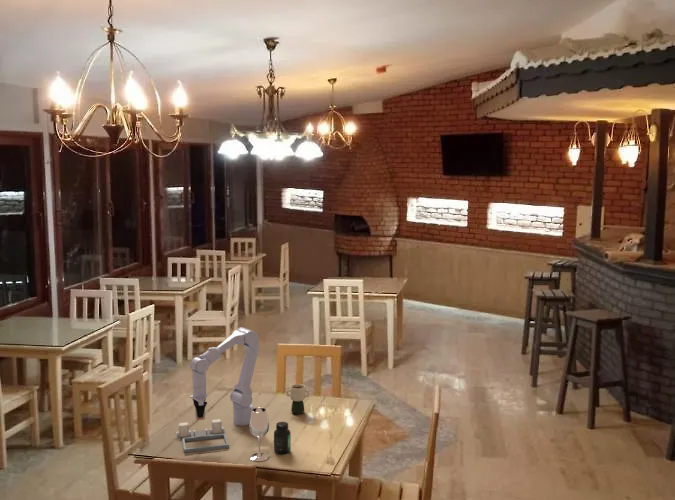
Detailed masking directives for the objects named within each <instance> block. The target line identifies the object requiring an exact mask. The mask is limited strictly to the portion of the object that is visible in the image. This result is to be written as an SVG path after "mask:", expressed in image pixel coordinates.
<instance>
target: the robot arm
mask: <svg viewBox="0 0 675 500" xmlns="http://www.w3.org/2000/svg"><path fill="white" fill-rule="evenodd" d="M259 338H260V337H259V335H258V334H257V332H256V331H254V330H251V329H248V328H246V327H242V326H241V327H238V328H237V329H236V330H233V332H232V334H230V335H229V336H228V337H227V338H226V339H224V340H223V341H222V342H221V343H220V344H219V345H218V346H217V347H216V346H215V347H214V346H212V347H208V348H207V351H205V352H204V353H202V354H200V355H199V356H197V357H193V358H192V359H191V361H190V364H189V368H190V369H191V373H192V374H191V375H192V377H191V378H192V394H191V395H190V396H189V398H190V399H192V401H193V402H192V403H193V405H194V409H195V408H196V411H197V416H198V418H203V415H204V410H205V411H206V406H207V404H208V401H206V400H207V398H208V395H207V371H208V369H209V367H210V366H211V365H212V364H214V363H215V362H216V361H218V360H219V359H220V358H221V357H222V354H223V353H225V352H226V351H227V350H229V349H230V348H232V347H233V346H235V345H243V347H244V348H245V353H244V357H243V362H242V366H241V370H240V375H239V379H238V383H236V384H235V385H234V387H233V390H232V391H231V393H230V396H229V398H230V401H231V402H232V407H233V408H232V409H233V411H232V412H233V413H232V416H233V424H234V425H235V426H247V425H250V418H251V413H252V409H254V408H255V406H254V404H252V402H253V397H252V396H253V390H252V388H251V384H252V380H253V374H254V372H255V367H256V363H257V360H258V359H257V357H258V354H259V350H260V345H259Z"/></svg>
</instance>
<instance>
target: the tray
mask: <svg viewBox="0 0 675 500" xmlns="http://www.w3.org/2000/svg"><path fill="white" fill-rule="evenodd" d="M220 438H221V439H223V440H224V444H223V443H222V444H217V445H215V444H214V445H207V446H198V447H197V446H196V447H186V442H195V441H204V440H212V439H220ZM181 439H182V441H181V442H182V448H183V454H185V453H187V454H186V456H193V455H194V452H199V453H195V455H200V454H201V455H202V454H203V452H204V454H209V453H210V454H211V453H212V450H213V453H218V452H219V453H220V452H221V449H225V450H222V452H226V451H227V452H228V451H229V448H230V445H229V441H228V438H227V434H216V435H206V436H197V437H187V438H181ZM214 450H216V451H214ZM217 450H218V451H217ZM205 451H206V452H205ZM207 451H208V452H207Z"/></svg>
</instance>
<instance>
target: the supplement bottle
mask: <svg viewBox="0 0 675 500" xmlns="http://www.w3.org/2000/svg"><path fill="white" fill-rule="evenodd" d="M291 435H292V434H291V430H290V429H289V423H288V422H287V421H278V422H277V423H276V425H275V430H274V431H273V452H274V454H276V455H279V456H284V455H288V454H290V452H291V447H292V446H291V445H292V444H291V443H292V442H291V439H292V438H291Z"/></svg>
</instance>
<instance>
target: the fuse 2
mask: <svg viewBox="0 0 675 500" xmlns="http://www.w3.org/2000/svg"><path fill="white" fill-rule="evenodd" d="M222 424H223V423H222V419H221V418H218V419H211V430H212V434H215V433H222V427H223V426H222Z"/></svg>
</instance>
